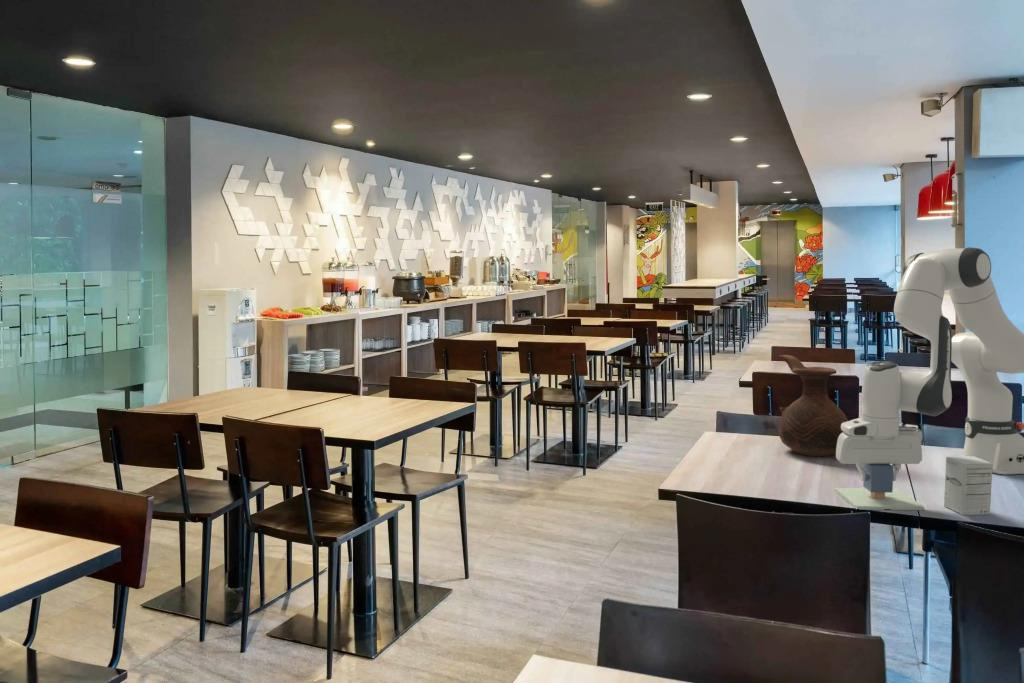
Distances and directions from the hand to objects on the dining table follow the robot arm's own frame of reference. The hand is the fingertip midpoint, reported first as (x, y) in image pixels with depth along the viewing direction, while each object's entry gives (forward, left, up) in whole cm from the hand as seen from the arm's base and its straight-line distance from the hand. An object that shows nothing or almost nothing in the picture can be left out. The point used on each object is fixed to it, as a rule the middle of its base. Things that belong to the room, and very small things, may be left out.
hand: (877, 480), depth 205 cm
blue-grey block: (0, 0, -2) cm, 2 cm away
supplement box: (-18, +8, -5) cm, 20 cm away
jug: (0, -52, -5) cm, 52 cm away
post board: (0, 0, -5) cm, 5 cm away
